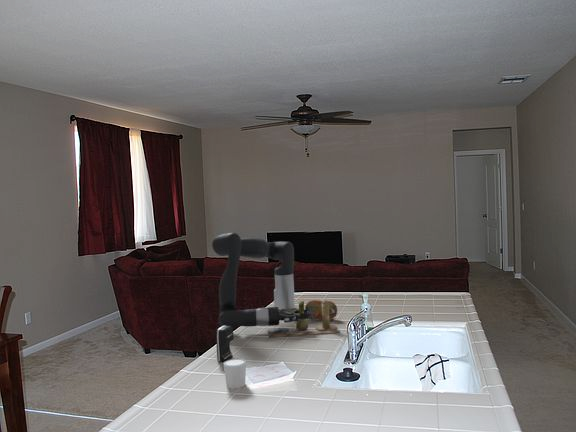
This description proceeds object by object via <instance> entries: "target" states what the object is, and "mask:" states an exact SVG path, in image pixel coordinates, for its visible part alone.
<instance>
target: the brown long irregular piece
mask: <svg viewBox="0 0 576 432" xmlns="http://www.w3.org/2000/svg"><path fill="white" fill-rule="evenodd" d="M321 301H322V320H321V321H322V322H321V323H322V324H320V325H316V326H315V330H316V331H307V332H306V331H305V332H304V331H302V332H294V333H293V332H290V329H289V328H288V327H274V328H270V329H268V330H267V333H268V339H274V338H286V337H287V338H288V337H301V336H302V337H303V336H319V335H329V334H330V335H331V334H341V331H340V329H338V327H337V325H333V324H330V320H329V302H328V301H329V300H328V299H325V300H321ZM289 332H290V333H289Z"/></svg>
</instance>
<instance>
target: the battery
mask: <svg viewBox="0 0 576 432" xmlns="http://www.w3.org/2000/svg"><path fill="white" fill-rule="evenodd" d="M233 328H234V327H231V326H220V327H219V328H218V327H217V329H216V331H215V343H216V345H215V346H216V359H217V362H225V361H228V360H231V358H233V353H232V350H231V342H232V341H234V329H233Z"/></svg>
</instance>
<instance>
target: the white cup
mask: <svg viewBox="0 0 576 432" xmlns="http://www.w3.org/2000/svg"><path fill="white" fill-rule="evenodd" d="M223 370H224V376H225V383H226V384H225V385H226V388H228V389H233V390H234V389H241V388H243V387H244V386H246V375H247V374H246V372H247V361H246V359H242V358H241V359H240V358H233V359H228V360H227V361H223Z"/></svg>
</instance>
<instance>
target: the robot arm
mask: <svg viewBox="0 0 576 432" xmlns="http://www.w3.org/2000/svg"><path fill="white" fill-rule="evenodd" d="M211 247H212V249H213V252H215V253H216V255H218V256H221V257H226V256H227V257H228V260H227V264H226V268H225V270H224V272H223V275H222V276H221V278H220V282H219V286H218V291H219V292H218V302H219V313H218V314H219V315H218V318H217V319H218V324H219V325H220V327H222V326H231V327H232V328H238V327H244V328H245V327H247V328H249V327H272V326H275V327H276V326H279V325H280V321H283V322H284V324H285V323H292V322H293V323H294V322H297V321H299V320H300V319H307V320H308V319H310V318H309V314H308V313H307V310H305V309H304V313H301V314H300V315H299V309H297V308H296V307H295V303H296V302H295V281H294V268H295V248H294V245H293V243H292V242H290V241H272V242H270V241H266V240H265V239H262V238H259V237H244V238H243V237H242V238H241V236H240V235H239V234H238V233H236V232H228V233H222V234H220V235H219V234H218V235H216V236H215V237H214V239H213V241H212V243H211ZM241 257H245V258H249V259H250V258H252V259H264V258H267V259H268V258H269V259H272V260H274V261H282V264H281V265H280V266H278V267H275V268H274V283H275V284H274V287H275V288H274V289H273V302H274V303H273V304H274V306H270V307H260V308H251V309H244V310H242V309H236V302H237V280H238V279H237V278H238V272H239V265H240V261H241V259H240V258H241Z"/></svg>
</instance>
